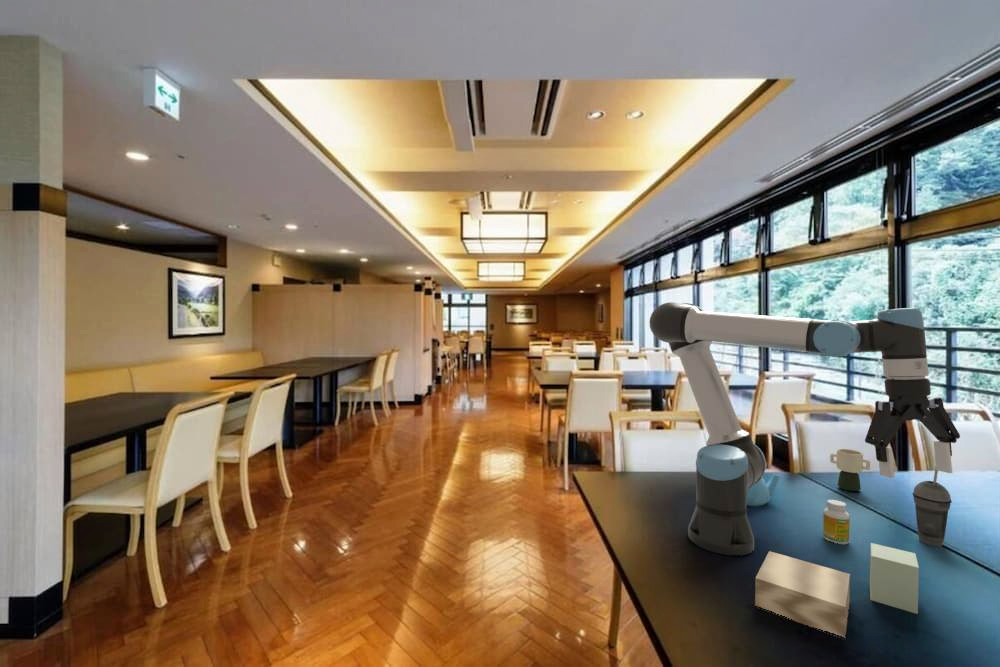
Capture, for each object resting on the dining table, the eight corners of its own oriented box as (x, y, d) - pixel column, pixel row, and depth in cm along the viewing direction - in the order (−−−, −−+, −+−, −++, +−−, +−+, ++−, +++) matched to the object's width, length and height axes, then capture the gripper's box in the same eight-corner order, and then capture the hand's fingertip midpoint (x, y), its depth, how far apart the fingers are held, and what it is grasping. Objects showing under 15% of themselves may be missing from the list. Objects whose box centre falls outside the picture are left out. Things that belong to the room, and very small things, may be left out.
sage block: (870, 600, 90) (871, 555, 90) (869, 584, 96) (870, 542, 96) (917, 614, 86) (918, 567, 86) (914, 597, 91) (915, 553, 91)
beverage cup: (930, 535, 119) (932, 460, 118) (959, 549, 111) (961, 469, 111) (903, 535, 118) (905, 460, 118) (931, 549, 111) (932, 469, 111)
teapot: (707, 495, 146) (707, 463, 146) (733, 487, 154) (734, 456, 154) (754, 512, 133) (755, 476, 133) (781, 502, 141) (781, 468, 141)
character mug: (872, 492, 150) (873, 453, 150) (866, 496, 146) (867, 457, 145) (832, 482, 159) (833, 446, 158) (826, 487, 154) (827, 449, 154)
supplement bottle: (838, 546, 113) (838, 507, 112) (817, 536, 118) (818, 499, 118) (854, 543, 114) (855, 505, 114) (833, 533, 119) (834, 497, 119)
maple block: (755, 608, 88) (755, 577, 88) (768, 578, 99) (769, 551, 99) (845, 641, 79) (845, 607, 79) (849, 603, 90) (849, 574, 89)
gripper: (869, 382, 95) (878, 483, 94) (976, 374, 97) (987, 473, 96) (839, 380, 103) (848, 474, 102) (939, 373, 105) (949, 465, 104)
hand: (916, 474), depth 99 cm, fingers open, 13 cm apart
